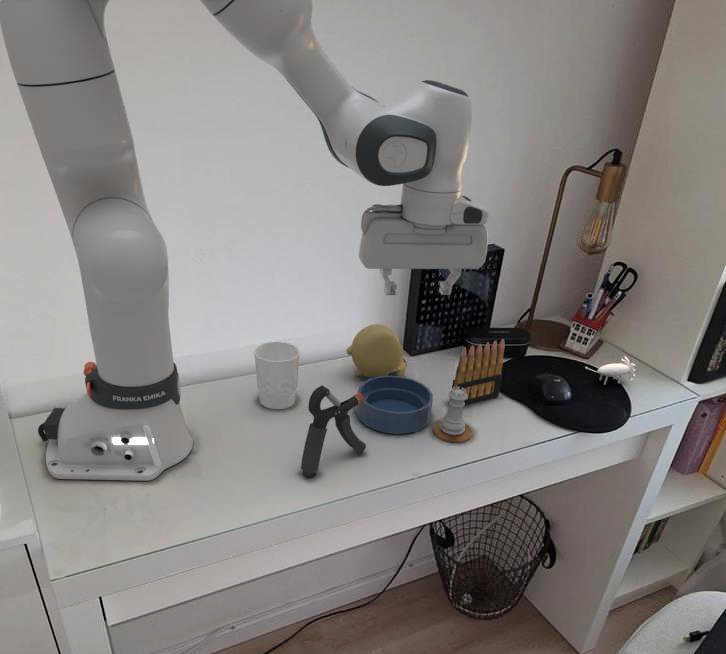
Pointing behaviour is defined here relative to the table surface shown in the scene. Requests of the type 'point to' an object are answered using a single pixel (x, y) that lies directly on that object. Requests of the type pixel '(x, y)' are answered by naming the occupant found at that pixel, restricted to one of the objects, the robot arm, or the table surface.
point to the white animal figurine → (616, 370)
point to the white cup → (277, 374)
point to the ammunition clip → (480, 372)
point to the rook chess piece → (454, 413)
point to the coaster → (453, 439)
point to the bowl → (394, 404)
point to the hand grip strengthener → (320, 423)
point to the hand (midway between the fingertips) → (417, 293)
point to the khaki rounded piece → (377, 352)
